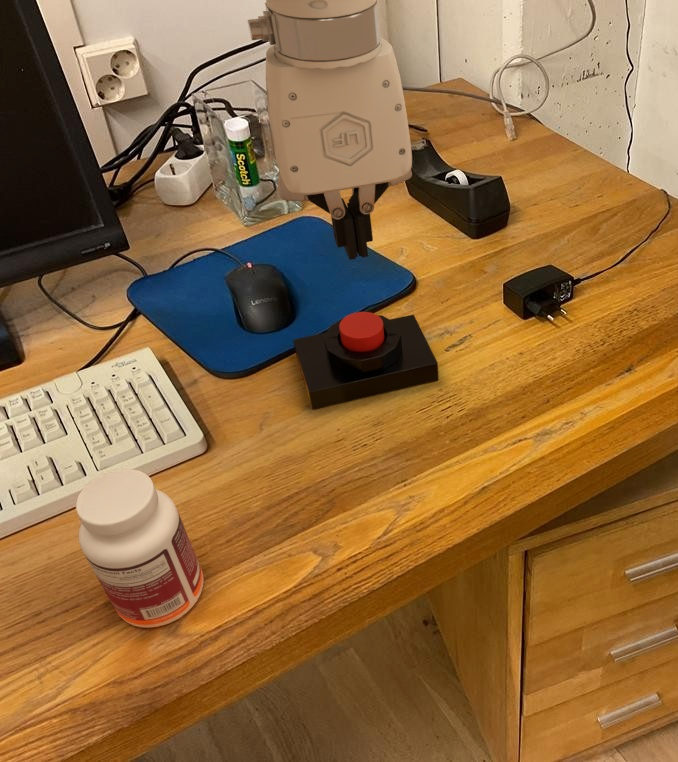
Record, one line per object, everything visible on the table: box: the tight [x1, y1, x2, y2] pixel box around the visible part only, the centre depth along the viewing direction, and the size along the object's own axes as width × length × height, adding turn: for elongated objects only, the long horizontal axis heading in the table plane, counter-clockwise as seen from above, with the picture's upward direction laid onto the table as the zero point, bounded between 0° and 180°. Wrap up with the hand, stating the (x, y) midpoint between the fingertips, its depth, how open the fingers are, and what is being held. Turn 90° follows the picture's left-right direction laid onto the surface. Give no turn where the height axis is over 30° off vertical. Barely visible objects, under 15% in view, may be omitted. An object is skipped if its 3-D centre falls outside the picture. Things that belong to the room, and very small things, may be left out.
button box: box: [292, 314, 439, 411], centre depth 77 cm, size 12×8×4 cm, turn 111°
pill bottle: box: [75, 468, 204, 628], centre depth 55 cm, size 6×6×11 cm
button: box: [339, 311, 384, 352], centre depth 75 cm, size 4×4×2 cm
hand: (355, 249), depth 69 cm, fingers closed
